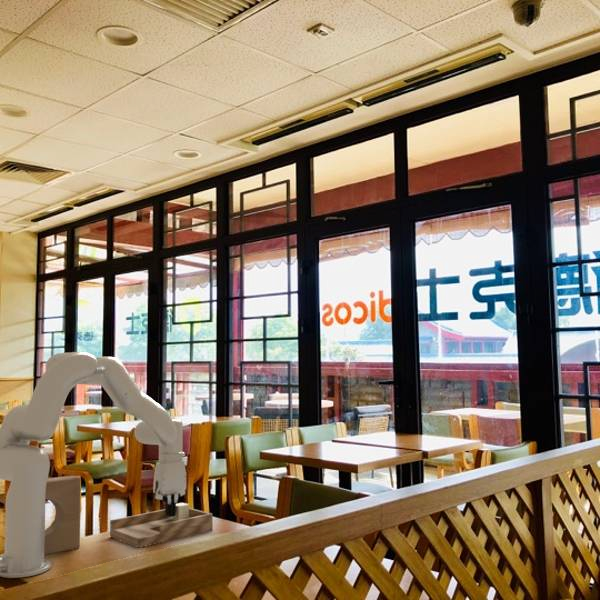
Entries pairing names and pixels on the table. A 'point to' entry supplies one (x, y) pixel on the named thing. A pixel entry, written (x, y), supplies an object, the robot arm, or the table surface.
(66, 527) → the decorative block
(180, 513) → the ivory block
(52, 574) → the table surface
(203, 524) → the box
